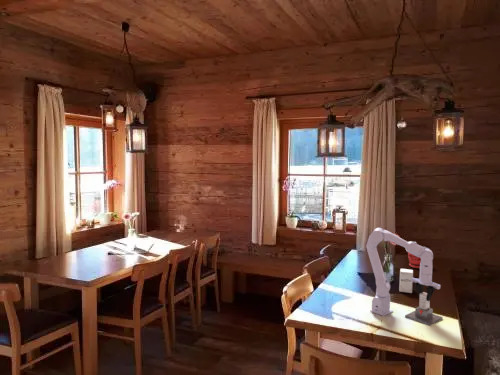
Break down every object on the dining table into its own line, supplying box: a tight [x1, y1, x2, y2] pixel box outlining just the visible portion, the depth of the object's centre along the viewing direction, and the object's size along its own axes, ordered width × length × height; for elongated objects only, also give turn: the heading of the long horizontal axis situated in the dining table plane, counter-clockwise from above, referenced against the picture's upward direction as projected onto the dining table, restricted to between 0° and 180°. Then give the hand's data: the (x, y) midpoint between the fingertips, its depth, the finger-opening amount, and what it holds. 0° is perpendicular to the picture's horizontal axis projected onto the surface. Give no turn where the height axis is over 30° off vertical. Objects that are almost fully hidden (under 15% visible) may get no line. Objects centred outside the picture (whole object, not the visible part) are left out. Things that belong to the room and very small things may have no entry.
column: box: [418, 291, 431, 311], centre depth 209 cm, size 4×4×9 cm
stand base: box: [404, 306, 443, 327], centre depth 210 cm, size 13×13×5 cm
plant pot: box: [407, 252, 421, 269], centre depth 303 cm, size 13×13×12 cm
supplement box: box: [398, 268, 414, 294], centre depth 251 cm, size 7×7×13 cm
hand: (424, 299), depth 209 cm, fingers closed on column, 4 cm apart
